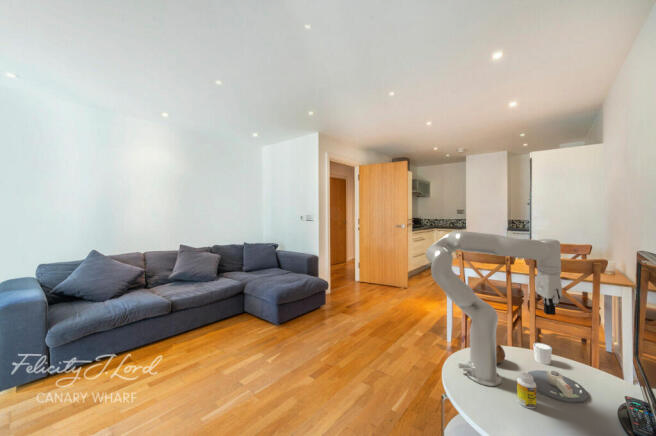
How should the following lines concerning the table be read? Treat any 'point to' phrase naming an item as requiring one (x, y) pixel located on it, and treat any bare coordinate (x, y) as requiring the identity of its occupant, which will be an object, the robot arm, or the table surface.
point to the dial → (554, 391)
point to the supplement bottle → (526, 390)
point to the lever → (559, 383)
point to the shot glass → (542, 353)
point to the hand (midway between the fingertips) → (549, 313)
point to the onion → (499, 354)
